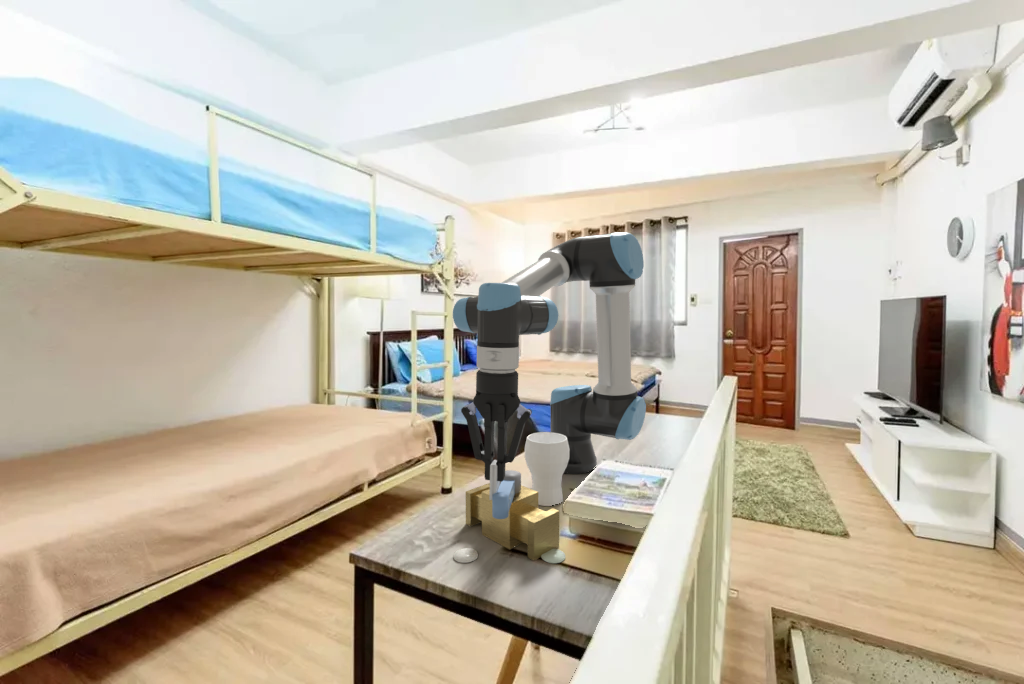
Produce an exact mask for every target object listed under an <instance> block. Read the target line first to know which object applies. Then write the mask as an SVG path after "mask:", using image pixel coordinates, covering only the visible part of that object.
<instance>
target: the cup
mask: <svg viewBox="0 0 1024 684" xmlns="http://www.w3.org/2000/svg"><path fill="white" fill-rule="evenodd" d="M569 451H570V449H569V445H568V440H567V437H566V436H564V435H562V434H559V433H551V431H550V432H549V431H545V432H543V431H542V432H533V433H531V434H529V435H528V436H526V441H525V444H524V460H525V463H526V466H527V468H528V470H529V473H530V475H531V480H532V487H531V489H532V490H535V491H537V492H538V506H541V507H542V506H544V507H550V506H551V507H553V506H552V505H554V506H556V505H555V504H558V505H560V504H561V502H562V503H563V501H564V496H563V489H562V480H563V475H564V474H565V473H564V471H565V469H566V467H567V464H568V461H569ZM559 503H560V504H559Z"/></svg>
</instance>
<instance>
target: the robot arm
mask: <svg viewBox="0 0 1024 684" xmlns="http://www.w3.org/2000/svg"><path fill="white" fill-rule="evenodd" d="M644 263H645V262H644V254H643V251H642V248H641V244H640V242H639V240H638V239H637V237H636V236H635V235H634V234H632V233H630V232H612V233H610V232H609V233H603V234H596V235H589V236H578V237H574V238H571V239H569V240H566V241H564V242H562V243H560V244H557V245H556V246H554V247H552V248H550V249H548V250H547V251H545V252H542V254H540V256H539V258H538V259H537V261H536V262H534V263H533V264H531V265H528V266H527V267H525V268H524V269H522V270H520V271H519V272H517V273H516V274H513V275H512V276H510V277H508V278H507V279H505V280H504V281H502V282H484V283H482V284H480V286H479V288H478V295H477V296H468V297H462V298H460V299H458V300H457V301H456V303H455V304H454V306H453V309H452V319H453V322H454V325H455V327H456V328H457V329H458V330H460V331H461V332H465V333H466V332H467V333H472V334H477V341H476V368H478V370H477V371H476V375H475V379H476V380H475V381H476V382H475V395H474V397H473V399H472V402H471V403H469V404H466V405H464V406H463V407H461V409H460V412H461V413H462V416H463V418H465V420H466V425H467V427H468V428H467V429H468V432H469V433H468V434H469V438H470V442H471V447H472V450H473V454H474V458H475V459H476V460H477V461H479V460H480V461H482V462H483V464H484V480H485V481H489V483H490V496H489V500H492V495H493V494H494V493H497V491H498V489H499V483H500V481H503V480H504V477H505V471H506V464H507V463H513V462H514V460H515V459H516V456H517V454H518V450H519V446H520V443H521V438H522V436H523V432H524V429H525V425H526V422H527V421H528V420H529V419H530V416H532V413H533V410H532V409H530V408H526V407H525V406H524V405H522V404H521V399H520V397H519V372H518V371H517V369H518V368H519V366H520V364H519V363H520V362H519V361H520V342H519V341H520V336H526V335H527V336H528V335H529V336H531V335H538V336H540V335H542V334H546V333H549V332H551V331H552V330H553V329H554V328H555V327H556V325H557V323H558V320H559V311H558V310H559V309H558V307H557V305H556V304H555V302H554V301H553V300H552V299H550V298H548V297H545V296H542V294H544V293H546V292H548V291H549V290H550V289H551V288H553V287H560V286H562V285H564V284H566V283H569V282H571V283H572V282H583V281H584V282H587V281H588V282H589V289H590V290H591V291H592V292H593V293H594V294H595V315H596V317H595V318H596V349H597V351H596V352H597V373H598V374H597V375H598V376H597V377H598V378H597V380H598V382H597V384H596V385H594V387H593V388H592V386H591V385H588V384H577V385H576V384H575V385H573V384H572V385H565V386H559V387H556V388H554V389H553V390H552V391H551V393H550V402H549V405H550V432H551V433H559V434H562V435H564V436H566V437H567V440H568V445H569V449H570V451H569V461H568V464H567V467H566V469H565V471H564V473H563V474H568V475H569V474H570V475H571V474H573V475H574V474H575V475H578V474H579V475H580V474H585V472H586V473H589V472H588V471H590V472H592V471H591V470H592V469H593V468H594V467H595V466H596V465H597V463H598V461H597V456H596V454H595V453H596V452H595V450H594V446H593V442H592V435H598V436H601V437H608V438H613V439H615V440H627V441H630V440H634V439H636V437H638V435H639V434H640V433H641V430H642V427H643V425H644V421H645V418H646V412H647V404H646V402H645V398H644V397H641V396H639V395H638V387H637V386H635V385H634V384H633V383H632V363H631V362H632V359H631V358H632V357H631V353H632V352H631V314H630V312H631V311H630V308H631V307H630V306H631V305H630V303H631V302H630V301H631V300H630V299H631V298H630V292H631V291H632V290H633V288H635V287H636V280H637V279H639V278H641V276H642V275H643V273H644V271H643V270H644ZM516 411H517V414H516V417H517V419H518V420H517V422H516V426H515V429H514V433H513V436H512V439H511V442H510V443H511V444H510V447H509V450H508V453H507V448H508V446H507V445H508V444H507V443H508V424H509V420H510V419H511V417H512V416H513V415H514V414H515V413H516ZM477 412H478V413H479V414H480V416H481V417H482V419H483V427H484V442H483V439H482V436H481V435H482V434H481V431H480V426H479V422H478V417H477V414H476V413H477ZM496 422H497V451H496V456H497V457H496V459H494V458H495V423H496ZM483 443H484V444H483Z"/></svg>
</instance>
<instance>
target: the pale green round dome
mask: <svg viewBox="0 0 1024 684" xmlns="http://www.w3.org/2000/svg"><path fill="white" fill-rule="evenodd" d="M540 558H541V559H542V561H544V562H547V564H548V563H549V564H560V563H563V562H564V561H565V559H566V553H565V552H564V551H562V550H561V549H559V548H556V549H551V550H549V551H548V552H546V553H544V554H542V555H541V557H540Z"/></svg>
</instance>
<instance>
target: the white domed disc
mask: <svg viewBox="0 0 1024 684" xmlns="http://www.w3.org/2000/svg"><path fill="white" fill-rule="evenodd" d="M478 558H479V554H478V551H477V550H476V549H473V548H469V547H465V548H460V549H458V550H456V551H455V552H454V553H453V559H454V561H455V562H458V563H461V564H467V563H472V562H474V561H476V560H477V559H478Z"/></svg>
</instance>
